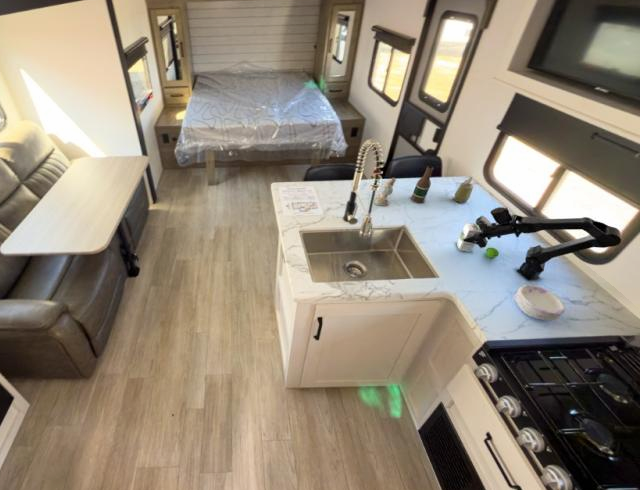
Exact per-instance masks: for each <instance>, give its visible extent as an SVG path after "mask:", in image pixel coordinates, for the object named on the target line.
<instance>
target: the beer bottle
mask: <svg viewBox="0 0 640 490" xmlns="http://www.w3.org/2000/svg"><path fill="white" fill-rule="evenodd" d="M425 168H426V170H425V172H424V173H423V176H422V177H421V178H419V179H418V180H417V182H416V185H415V187H414V190H413V192H412V195H411V201H412V202H414V203H416V204H423V203H424V201H425V200H426V197H427V195H428V192H429V189H430V188H431V183H432V182H431V176H432V173H433V171H434V167H433V166H429V165H427V166H426V167H425Z"/></svg>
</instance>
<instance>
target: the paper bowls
mask: <svg viewBox="0 0 640 490" xmlns="http://www.w3.org/2000/svg"><path fill="white" fill-rule="evenodd" d="M513 297H514V301H515V303H516V304H517V305H518V308H519V309H520V310H521V311H522V312H523V313H524V314H526V315H527V316H529V317H531V318H534V319H535V320H536V319H537V320H543V321H550V322H551V321H555V320H557V319H558V318H559V317H560V316H562V315H563V314H564V312H565V311H566V307H565V304H564V302H563V301H562V300H561V298H560V297H559V296H557V295H556V294H555V293H554V292H552V291H550V290H549V289H547V288H545V287H542V286H538V285H535V284H523V285H521V286H520V287H519V288H518V289H517V290H516V292H515V293H514V295H513Z"/></svg>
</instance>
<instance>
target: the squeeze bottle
mask: <svg viewBox="0 0 640 490" xmlns="http://www.w3.org/2000/svg"><path fill="white" fill-rule="evenodd" d="M473 179H474V178H473V176H472V175H470V176H469V178H468V179H465V180H464V181H463V182H461V183H460V185H459V186H458V188H457V190H455V193H454V201H455V202H457V203H459V204H464V203H466V202H467V201H469V199H470V198H471V195H472V192H473V189H474V181H473Z"/></svg>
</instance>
